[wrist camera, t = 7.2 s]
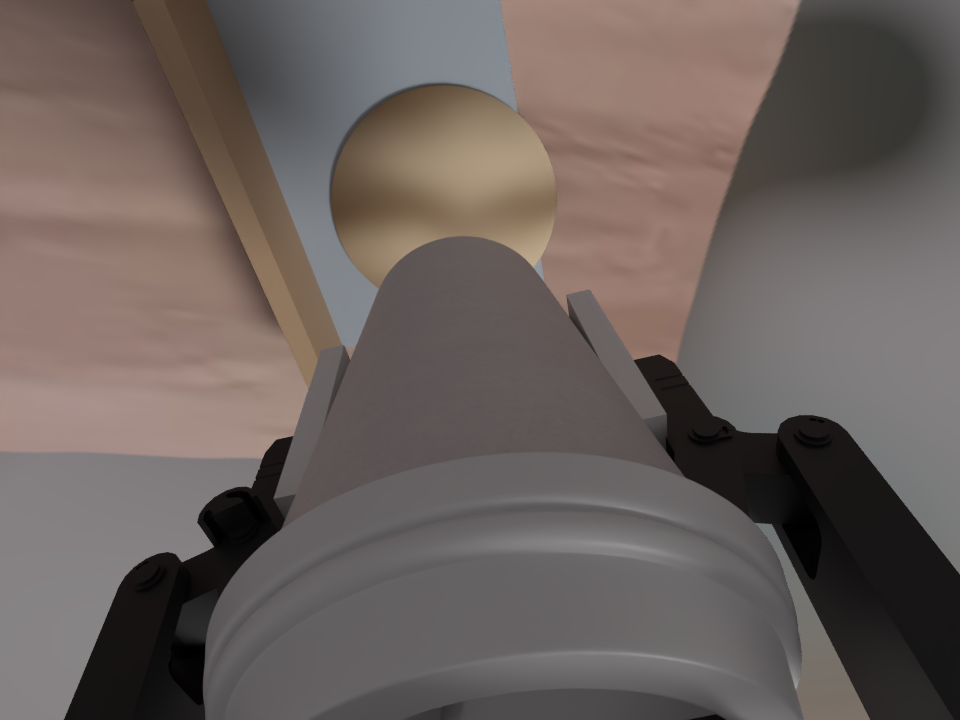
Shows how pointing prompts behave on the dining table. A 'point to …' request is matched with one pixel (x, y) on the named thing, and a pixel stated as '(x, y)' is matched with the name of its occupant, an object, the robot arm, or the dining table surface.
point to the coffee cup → (498, 536)
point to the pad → (441, 178)
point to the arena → (310, 123)
